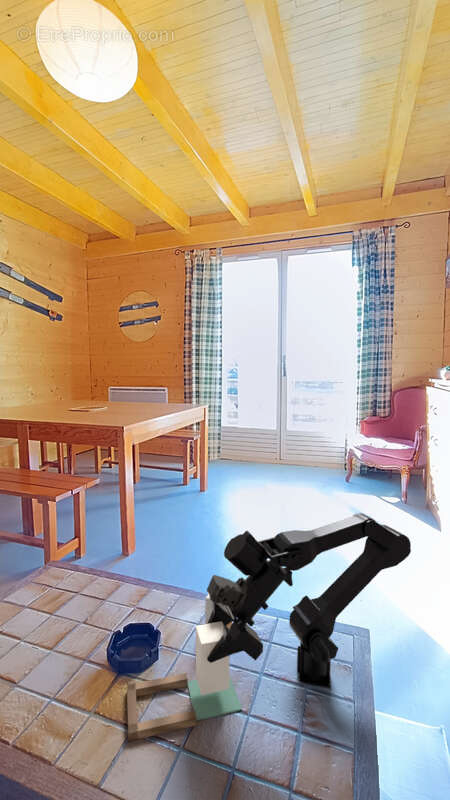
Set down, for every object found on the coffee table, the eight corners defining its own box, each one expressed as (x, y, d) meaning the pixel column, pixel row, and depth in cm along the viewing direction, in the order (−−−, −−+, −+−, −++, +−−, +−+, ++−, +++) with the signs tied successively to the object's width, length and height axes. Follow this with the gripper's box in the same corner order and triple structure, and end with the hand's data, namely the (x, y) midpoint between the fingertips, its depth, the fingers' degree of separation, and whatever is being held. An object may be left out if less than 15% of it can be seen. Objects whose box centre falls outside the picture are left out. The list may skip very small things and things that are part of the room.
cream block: (221, 667, 77) (221, 621, 76) (229, 688, 71) (229, 638, 71) (195, 673, 75) (195, 625, 75) (201, 695, 70) (201, 644, 69)
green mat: (228, 674, 79) (228, 673, 79) (241, 710, 70) (241, 708, 70) (187, 683, 77) (187, 681, 77) (195, 721, 68) (195, 719, 68)
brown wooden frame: (186, 679, 77) (186, 673, 77) (196, 725, 67) (196, 717, 67) (127, 691, 74) (127, 684, 74) (128, 741, 64) (128, 733, 64)
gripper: (219, 544, 82) (170, 599, 80) (247, 588, 64) (184, 662, 62) (252, 573, 85) (205, 628, 82) (287, 624, 67) (229, 697, 64)
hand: (205, 650), depth 73 cm, fingers closed on cream block, 5 cm apart
